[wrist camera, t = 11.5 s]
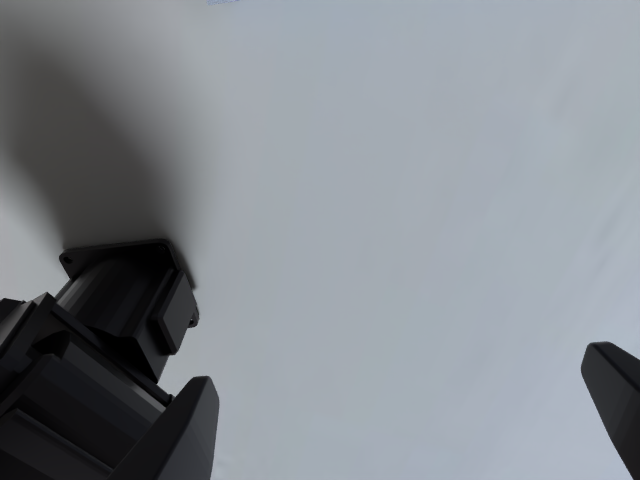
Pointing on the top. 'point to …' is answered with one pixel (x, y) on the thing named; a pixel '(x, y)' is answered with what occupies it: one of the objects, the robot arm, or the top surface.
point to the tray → (218, 1)
